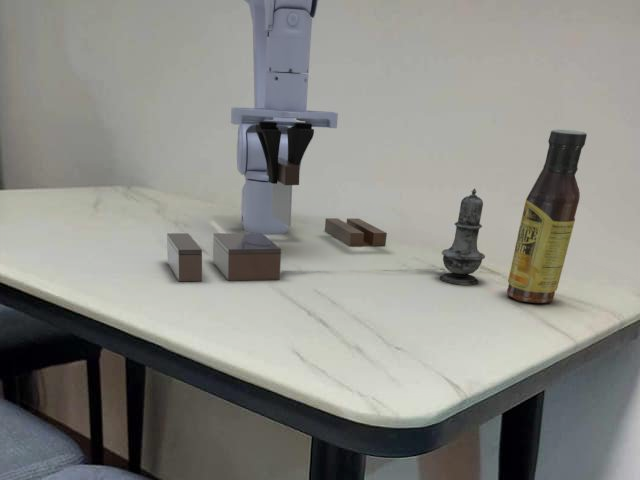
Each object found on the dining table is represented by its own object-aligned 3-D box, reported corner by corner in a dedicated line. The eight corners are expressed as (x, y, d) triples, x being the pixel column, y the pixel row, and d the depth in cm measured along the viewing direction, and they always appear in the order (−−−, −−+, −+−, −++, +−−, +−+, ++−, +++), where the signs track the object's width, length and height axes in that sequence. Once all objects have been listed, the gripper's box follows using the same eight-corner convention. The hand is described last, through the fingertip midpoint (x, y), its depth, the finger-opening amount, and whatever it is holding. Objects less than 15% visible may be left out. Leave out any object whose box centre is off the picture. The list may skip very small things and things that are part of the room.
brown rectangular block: (167, 263, 102) (166, 233, 100) (188, 262, 102) (188, 233, 100) (179, 281, 93) (178, 249, 91) (202, 281, 94) (202, 249, 92)
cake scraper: (265, 214, 110) (266, 157, 106) (278, 214, 110) (280, 157, 106) (283, 227, 101) (285, 166, 97) (297, 227, 102) (299, 166, 98)
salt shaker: (481, 287, 99) (498, 193, 93) (437, 282, 100) (452, 189, 94) (479, 277, 104) (496, 187, 98) (437, 272, 105) (451, 183, 99)
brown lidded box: (213, 262, 103) (213, 233, 101) (260, 261, 105) (261, 233, 103) (228, 280, 95) (228, 249, 93) (279, 279, 97) (281, 248, 95)
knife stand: (324, 236, 123) (325, 218, 122) (357, 236, 125) (359, 218, 123) (349, 253, 113) (350, 233, 112) (384, 252, 115) (387, 232, 114)
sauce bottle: (500, 290, 98) (532, 126, 88) (546, 293, 98) (584, 129, 88) (512, 304, 92) (548, 130, 82) (561, 307, 92) (603, 134, 82)
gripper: (240, 70, 91) (237, 186, 98) (349, 76, 95) (339, 187, 102) (228, 69, 97) (226, 178, 104) (331, 75, 101) (323, 180, 108)
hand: (281, 182), depth 103 cm, fingers closed on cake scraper, 2 cm apart
